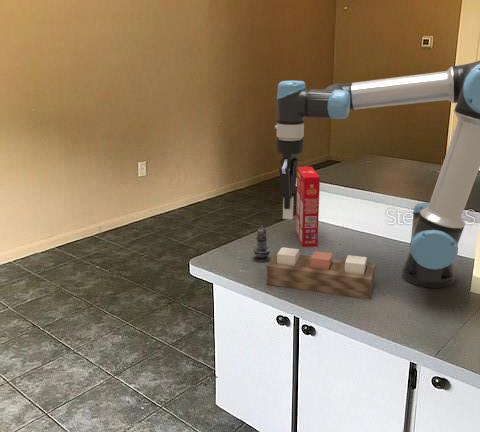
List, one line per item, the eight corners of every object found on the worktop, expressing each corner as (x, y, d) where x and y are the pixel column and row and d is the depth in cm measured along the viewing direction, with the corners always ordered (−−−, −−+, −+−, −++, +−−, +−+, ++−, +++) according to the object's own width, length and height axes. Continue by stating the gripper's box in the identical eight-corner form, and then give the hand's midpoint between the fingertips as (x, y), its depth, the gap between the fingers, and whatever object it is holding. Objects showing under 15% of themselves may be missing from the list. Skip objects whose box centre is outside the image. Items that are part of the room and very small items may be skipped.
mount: (373, 282, 160) (375, 263, 158) (369, 298, 150) (371, 279, 148) (276, 269, 169) (277, 252, 167) (266, 284, 159) (266, 265, 158)
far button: (298, 262, 163) (299, 249, 161) (294, 269, 158) (294, 256, 157) (281, 259, 164) (281, 247, 163) (276, 266, 160) (277, 253, 158)
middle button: (331, 266, 160) (332, 253, 158) (328, 273, 155) (328, 260, 153) (313, 263, 161) (314, 251, 160) (310, 271, 156) (310, 257, 155)
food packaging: (317, 246, 187) (319, 177, 179) (302, 247, 187) (304, 177, 178) (309, 231, 201) (311, 166, 193) (295, 232, 201) (297, 167, 192)
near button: (365, 270, 156) (366, 257, 155) (363, 278, 152) (364, 264, 150) (347, 268, 158) (348, 255, 157) (344, 275, 153) (345, 262, 152)
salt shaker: (261, 254, 181) (261, 220, 177) (274, 259, 177) (274, 224, 173) (249, 259, 177) (248, 225, 173) (262, 264, 173) (262, 229, 169)
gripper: (282, 133, 156) (281, 210, 163) (270, 141, 144) (269, 224, 152) (308, 134, 153) (305, 212, 161) (297, 143, 142) (294, 226, 150)
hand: (287, 218), depth 157 cm, fingers closed
